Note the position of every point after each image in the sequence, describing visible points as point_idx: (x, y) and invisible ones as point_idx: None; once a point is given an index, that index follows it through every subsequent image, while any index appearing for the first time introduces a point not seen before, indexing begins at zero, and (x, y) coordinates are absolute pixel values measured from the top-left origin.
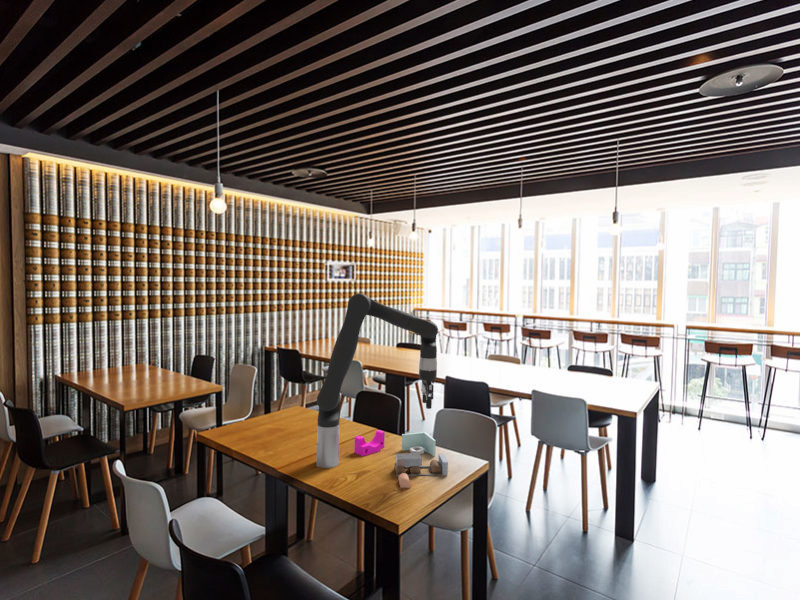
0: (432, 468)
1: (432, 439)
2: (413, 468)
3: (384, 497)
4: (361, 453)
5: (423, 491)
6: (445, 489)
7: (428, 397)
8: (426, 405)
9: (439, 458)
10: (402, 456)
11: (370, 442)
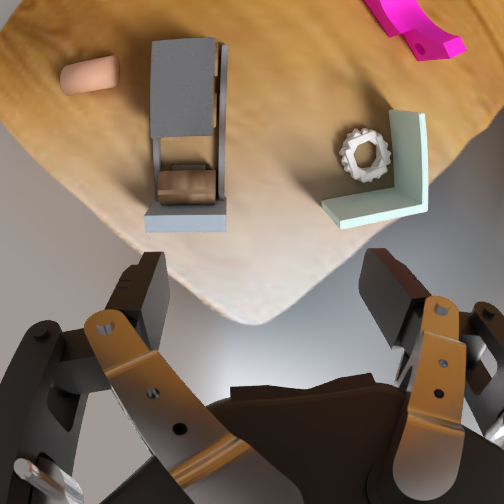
0: (165, 173)
1: (352, 219)
2: None
3: (49, 33)
4: None
5: (68, 132)
6: (80, 194)
7: (28, 351)
8: (138, 267)
9: (208, 210)
10: (181, 61)
11: (421, 14)
